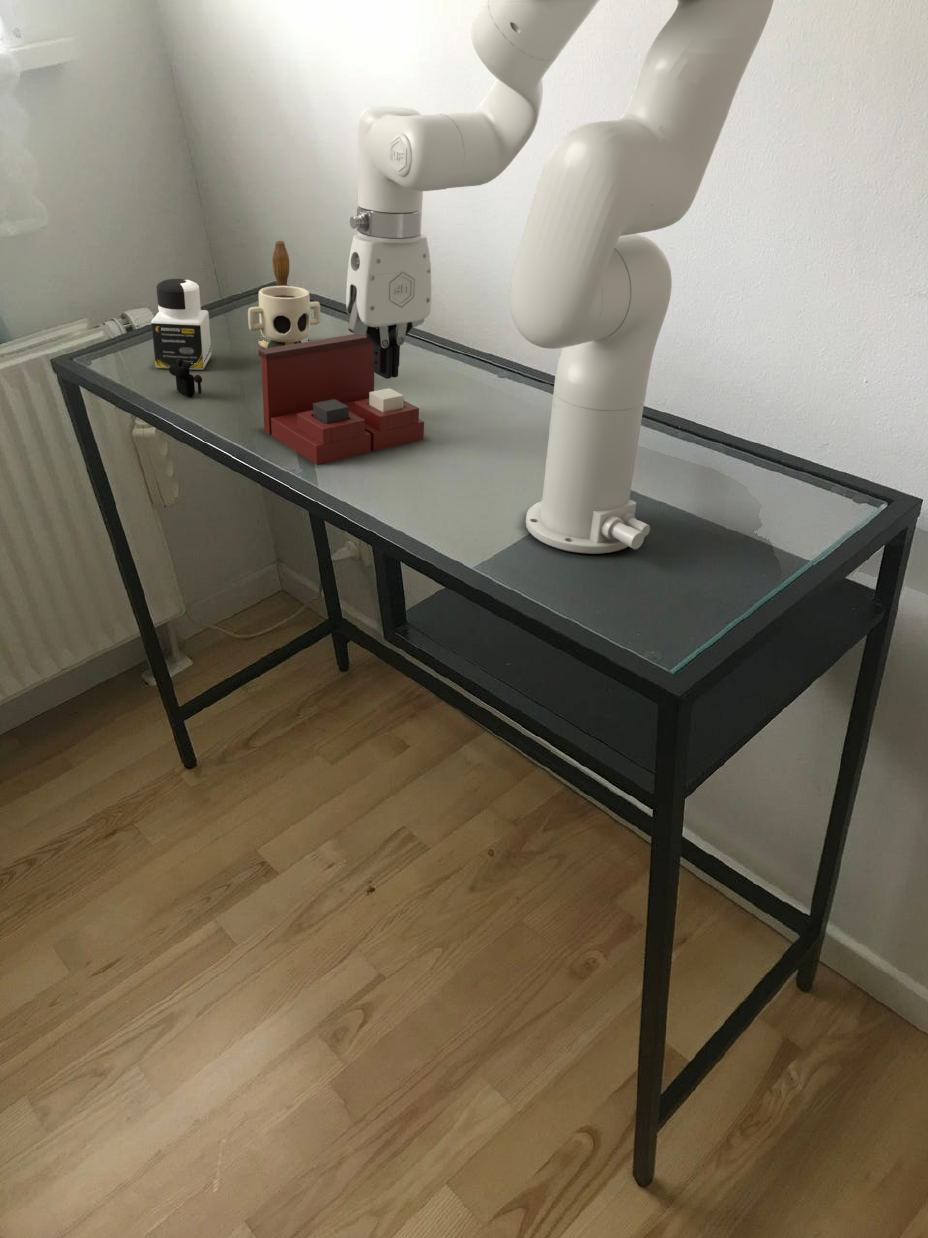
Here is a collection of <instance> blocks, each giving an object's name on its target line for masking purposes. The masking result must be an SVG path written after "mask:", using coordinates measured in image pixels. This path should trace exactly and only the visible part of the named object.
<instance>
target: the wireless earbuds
mask: <svg viewBox="0 0 928 1238" xmlns="http://www.w3.org/2000/svg"><path fill="white" fill-rule="evenodd" d="M177 365H178V366H177ZM177 365H175V364H171V365H170V368H169V369H168V371H169V374H170V375H171V376H173V377H175V384H176V386H175V387H176V391H177V392H178V393H179V394H182V396H183V395H184V396H186V397H189V398H190V397H194V396H195V394H196V386H195V385H196V384H195V383H197V393H198V395H202V394H203V393H202V382H203V378H202V376H201V375H200V374H196V375H193V374H191V373H190V370H189V369H190V367H191V366H190V363H189V362H188V361H183V360H182V359H180V358H178V359H177ZM181 366H183V367H181Z"/></svg>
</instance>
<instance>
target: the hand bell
mask: <svg viewBox="0 0 928 1238" xmlns="http://www.w3.org/2000/svg"><path fill="white" fill-rule="evenodd" d="M288 253H289V252H288V251H287V248H286V244H285V241H283V240H277V241H275V245H274V250H273V253H272V270H273V275H274V277H275V281H276V286H288V279H289V275H290V258H289V254H288ZM268 343H269V342H266V341H264V340H263V341H259V340H258V345H259V347H261V348H262V349H266V348H267V346H268Z"/></svg>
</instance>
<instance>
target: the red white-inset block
mask: <svg viewBox="0 0 928 1238" xmlns="http://www.w3.org/2000/svg"><path fill="white" fill-rule="evenodd" d="M343 404H345V405H346V406H348V407H349V411H350V412H351V413H353V414H355V415H357V416H359V417H360V418H362V419H364V420H365V431H367V432H369V433H370V434H371V451H372V452H377V451H381V450H384V449H389V448H393V447H397V446H401V445H406V444H410V443H415V442H418V441H423V440H424V437H425V421H424V420H423V419H420V408H419V407H417V406H416V405H414V404H412V403H410V402H408V401H406V400H404V406H403V408H400V409H396V410H391V411H386V412H381V411H380V410H378V409H376V408H374V407H372V406H370V405H369V398H366V399H362V400H357V401H352V402H347V403H343Z"/></svg>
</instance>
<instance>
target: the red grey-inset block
mask: <svg viewBox="0 0 928 1238" xmlns="http://www.w3.org/2000/svg"><path fill="white" fill-rule="evenodd" d="M271 429H272V434H271V437H272V438H274V439H276V440H277V441H279V442H281V443H282V444H284V445H285V446H287V447H288V448H289V449H291V450H293V451H294V452H296V453H298V454H299V455H301V456H302V457H304V458H305V459H307V460H309V461H311V462H312V463H313V464H315V465H317V466H318V465H322V464H327V463H331V462H335V461H339V460H342V459H346V458H348V459H349V458H351V457H356V456H361V455H364V454H368V453H372V452H371V451H372V450H371V434H370V433H369V432H367V431H365V420H364V419H362V418H360V417H359V416H357V415H355V414H353V413H351V412H350V411H349V420H344V421H340V422H335V423H330V424H327V425H326V424H325V423H323V422H321V421H320V420H318V419H316V418H314V417H313V410H308V411H303V412H298V413H293V414H288V415H283V416H278V417H273V418H271Z"/></svg>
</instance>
